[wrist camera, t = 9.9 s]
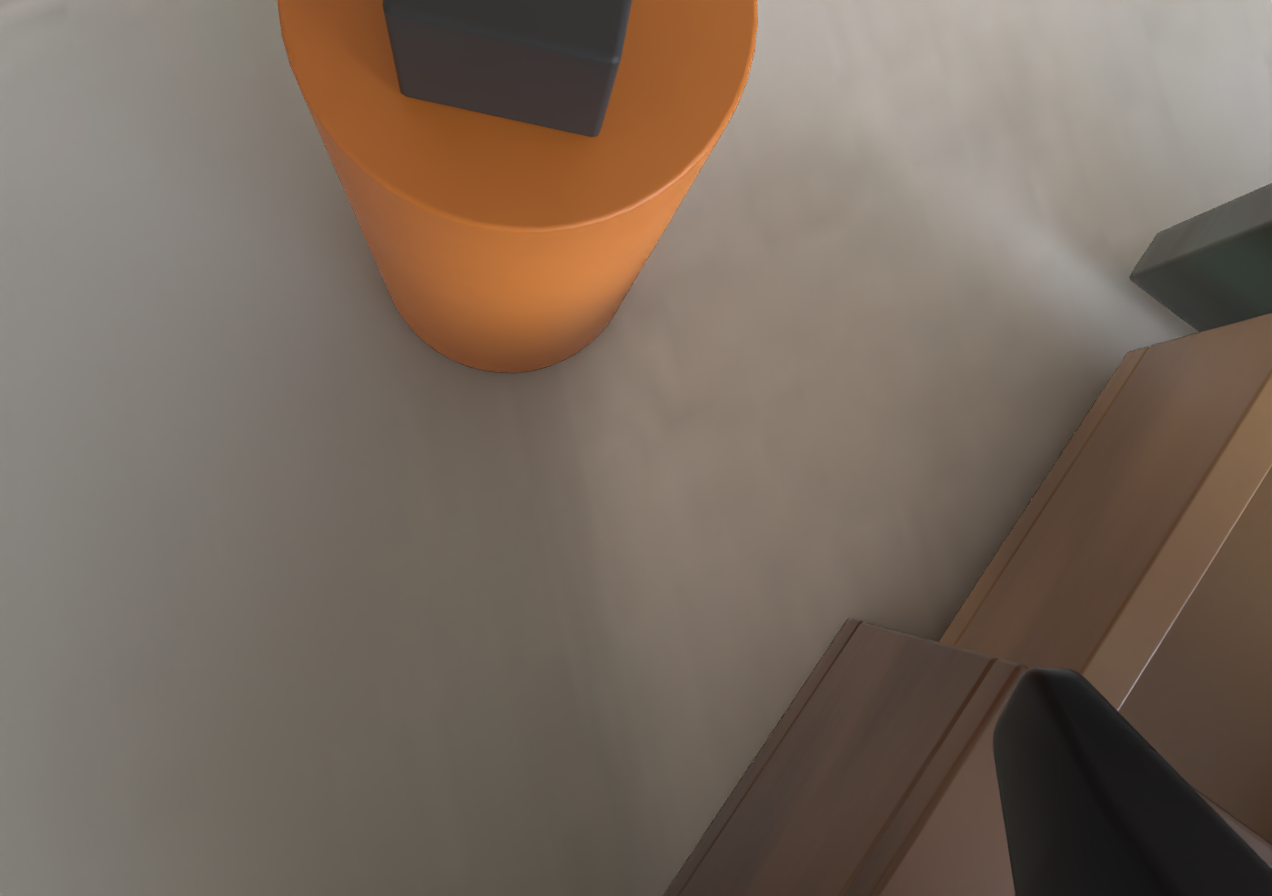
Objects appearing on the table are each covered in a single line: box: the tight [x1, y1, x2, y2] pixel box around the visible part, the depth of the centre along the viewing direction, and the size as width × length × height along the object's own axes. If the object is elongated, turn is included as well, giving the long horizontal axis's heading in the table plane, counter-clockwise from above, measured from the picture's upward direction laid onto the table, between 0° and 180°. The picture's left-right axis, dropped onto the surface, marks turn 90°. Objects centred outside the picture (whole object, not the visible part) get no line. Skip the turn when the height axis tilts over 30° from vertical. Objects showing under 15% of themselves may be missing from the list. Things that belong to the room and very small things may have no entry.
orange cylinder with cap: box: [278, 0, 758, 373], centre depth 16 cm, size 5×5×13 cm
